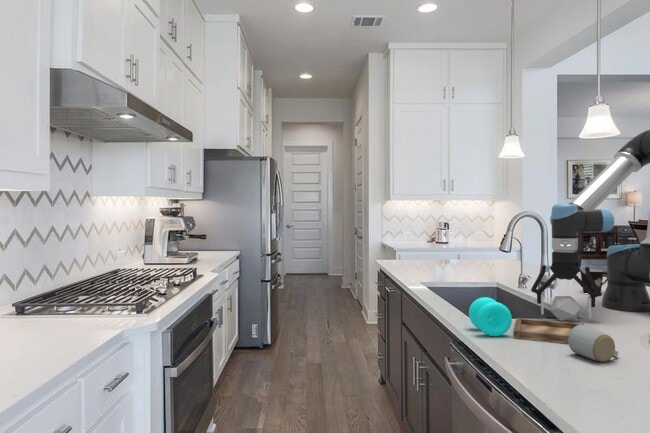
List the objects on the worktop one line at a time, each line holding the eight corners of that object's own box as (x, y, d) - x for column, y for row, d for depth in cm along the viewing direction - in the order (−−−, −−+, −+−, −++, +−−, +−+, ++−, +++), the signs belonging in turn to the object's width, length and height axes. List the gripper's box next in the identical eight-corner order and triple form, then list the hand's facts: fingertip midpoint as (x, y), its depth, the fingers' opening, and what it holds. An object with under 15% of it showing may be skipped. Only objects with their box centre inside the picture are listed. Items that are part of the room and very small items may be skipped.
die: (580, 327, 137) (589, 300, 140) (554, 312, 138) (564, 287, 141) (566, 329, 145) (575, 304, 147) (541, 316, 146) (551, 291, 149)
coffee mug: (583, 295, 184) (583, 271, 183) (577, 291, 192) (577, 268, 192) (615, 296, 180) (614, 272, 180) (608, 292, 188) (607, 269, 188)
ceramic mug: (594, 365, 102) (595, 333, 102) (567, 354, 109) (567, 325, 109) (627, 360, 105) (627, 330, 105) (598, 350, 112) (598, 322, 112)
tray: (583, 330, 130) (583, 323, 130) (589, 346, 116) (589, 338, 116) (516, 324, 139) (516, 317, 139) (513, 338, 124) (513, 330, 124)
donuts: (478, 337, 125) (478, 303, 125) (467, 328, 135) (467, 296, 135) (513, 337, 125) (513, 302, 125) (500, 328, 135) (499, 296, 135)
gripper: (522, 251, 145) (523, 314, 145) (611, 253, 134) (612, 321, 134) (523, 249, 152) (524, 309, 152) (608, 250, 141) (608, 316, 141)
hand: (565, 315), depth 143 cm, fingers open, 13 cm apart
